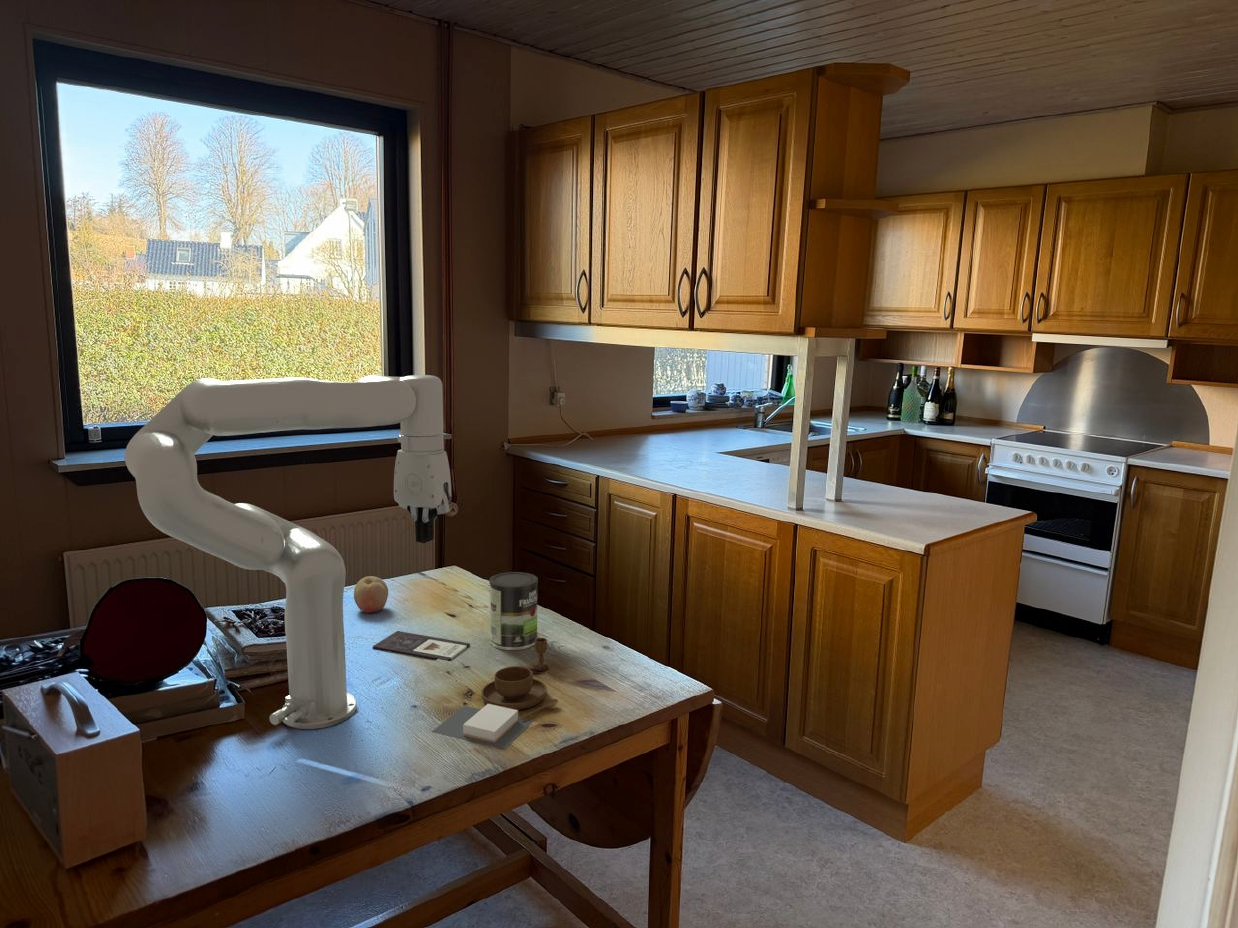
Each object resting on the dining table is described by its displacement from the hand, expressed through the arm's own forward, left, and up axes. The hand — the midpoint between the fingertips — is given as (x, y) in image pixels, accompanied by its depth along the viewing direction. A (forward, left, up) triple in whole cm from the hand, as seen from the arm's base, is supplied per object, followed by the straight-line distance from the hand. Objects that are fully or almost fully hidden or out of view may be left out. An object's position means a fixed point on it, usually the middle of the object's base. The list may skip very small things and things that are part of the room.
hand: (424, 540), depth 153 cm
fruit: (+26, +33, -28) cm, 51 cm away
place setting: (+4, -20, -28) cm, 35 cm away
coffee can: (+24, -6, -28) cm, 38 cm away
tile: (-11, -18, -27) cm, 34 cm away
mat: (-11, -19, -28) cm, 36 cm away
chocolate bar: (+13, +11, -29) cm, 33 cm away
